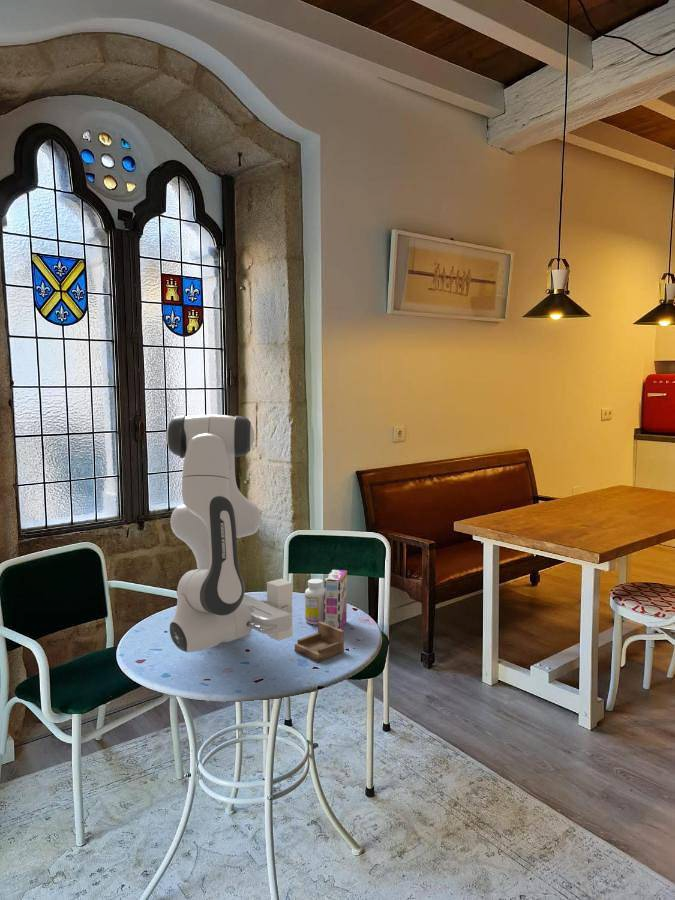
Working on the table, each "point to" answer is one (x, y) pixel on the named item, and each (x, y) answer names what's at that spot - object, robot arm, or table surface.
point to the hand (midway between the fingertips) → (282, 605)
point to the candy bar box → (335, 598)
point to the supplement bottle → (314, 602)
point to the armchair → (322, 643)
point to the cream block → (280, 602)
